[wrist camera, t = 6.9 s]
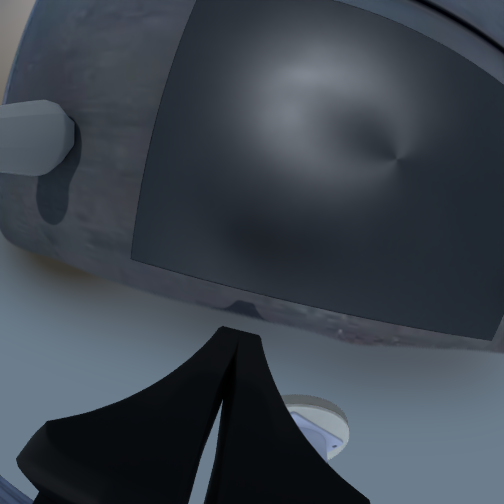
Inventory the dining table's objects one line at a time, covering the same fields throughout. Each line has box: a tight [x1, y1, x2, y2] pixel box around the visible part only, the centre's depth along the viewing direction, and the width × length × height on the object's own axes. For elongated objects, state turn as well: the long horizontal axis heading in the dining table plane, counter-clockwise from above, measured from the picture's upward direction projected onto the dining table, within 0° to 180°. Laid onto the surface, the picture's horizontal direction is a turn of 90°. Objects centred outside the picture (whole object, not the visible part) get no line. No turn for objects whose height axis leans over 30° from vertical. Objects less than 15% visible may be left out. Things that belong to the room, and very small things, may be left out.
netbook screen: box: [131, 0, 504, 341], centre depth 14 cm, size 18×26×1 cm
